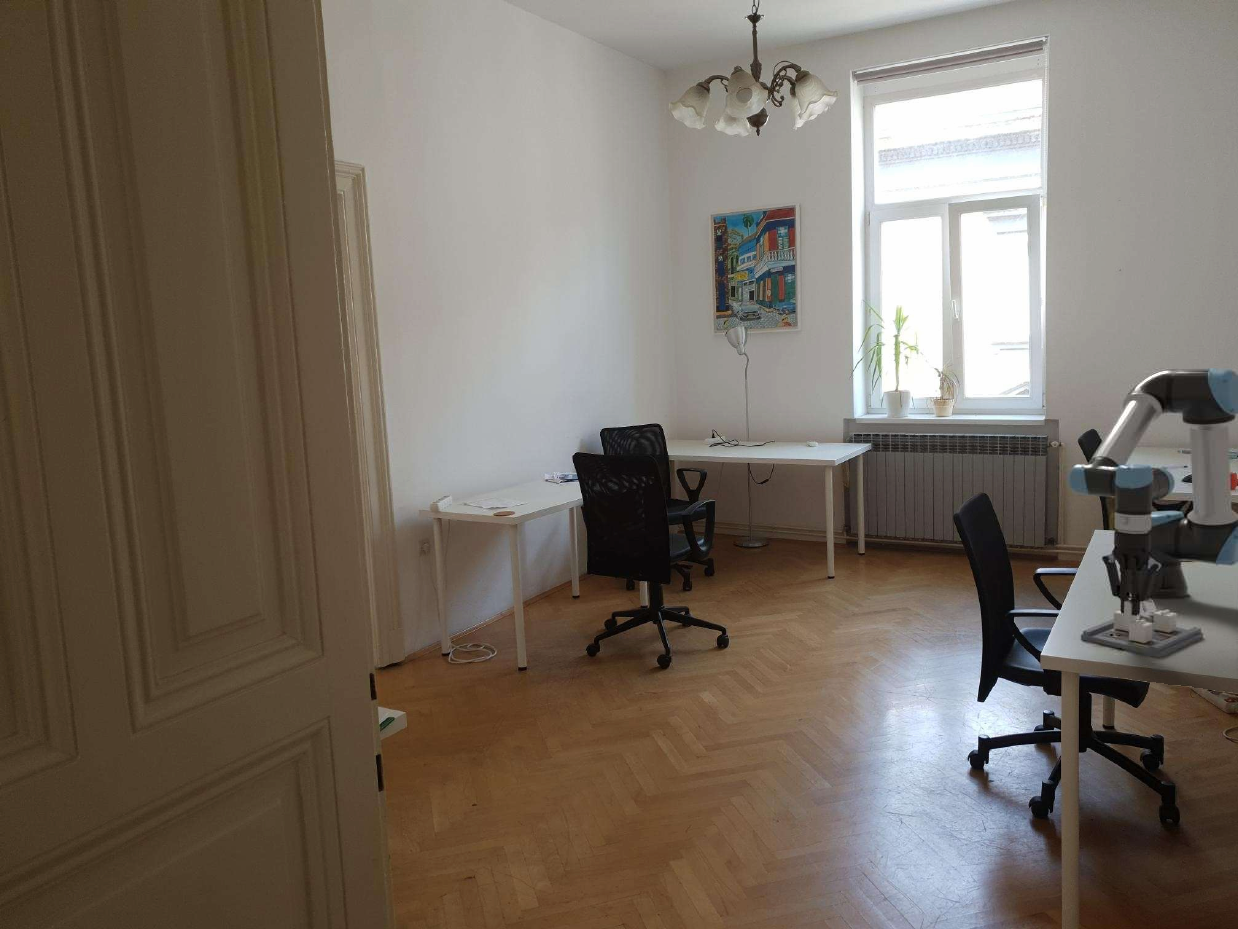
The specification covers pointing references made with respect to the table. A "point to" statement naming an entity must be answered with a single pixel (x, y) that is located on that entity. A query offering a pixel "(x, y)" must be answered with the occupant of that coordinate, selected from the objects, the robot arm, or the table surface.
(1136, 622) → the white ridged block
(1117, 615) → the white slider knob
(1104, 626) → the switch bank
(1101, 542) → the table surface
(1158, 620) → the white notched block
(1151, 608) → the adjustable wrench
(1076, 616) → the table surface
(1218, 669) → the table surface
